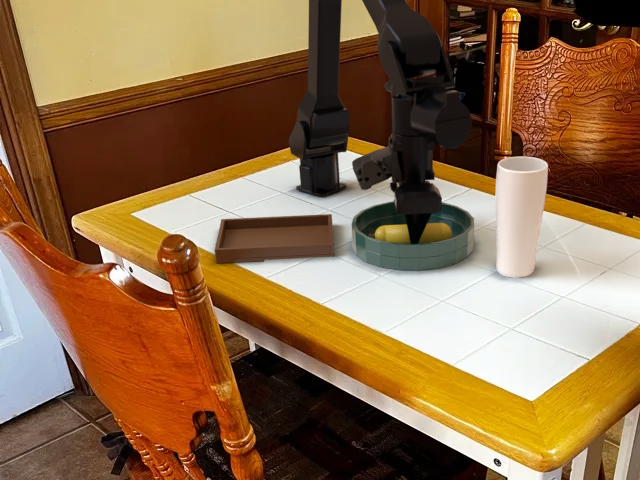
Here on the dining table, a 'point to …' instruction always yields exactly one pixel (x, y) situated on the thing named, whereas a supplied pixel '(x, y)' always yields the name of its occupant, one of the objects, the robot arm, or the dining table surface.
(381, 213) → the green round cake pan
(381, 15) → the robot arm
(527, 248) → the drinking glass
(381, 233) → the yellow gas canister
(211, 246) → the dining table surface
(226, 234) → the tray
